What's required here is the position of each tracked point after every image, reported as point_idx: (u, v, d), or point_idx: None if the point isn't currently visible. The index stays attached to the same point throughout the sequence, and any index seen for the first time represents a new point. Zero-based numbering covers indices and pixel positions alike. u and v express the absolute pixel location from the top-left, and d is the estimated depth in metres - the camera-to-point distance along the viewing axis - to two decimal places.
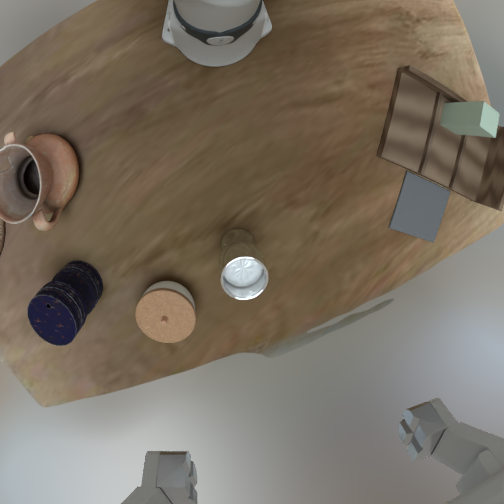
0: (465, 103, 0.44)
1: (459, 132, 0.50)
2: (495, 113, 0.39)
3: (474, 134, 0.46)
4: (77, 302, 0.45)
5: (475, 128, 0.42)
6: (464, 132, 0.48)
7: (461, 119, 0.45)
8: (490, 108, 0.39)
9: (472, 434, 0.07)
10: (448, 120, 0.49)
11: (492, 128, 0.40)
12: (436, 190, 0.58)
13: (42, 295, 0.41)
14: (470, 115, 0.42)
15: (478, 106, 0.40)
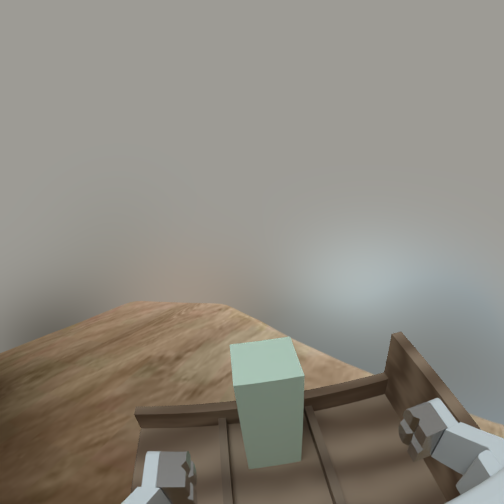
0: None
1: (288, 450, 0.24)
2: (277, 341, 0.25)
3: (294, 423, 0.23)
4: None
5: (253, 404, 0.21)
6: (286, 440, 0.24)
7: None
8: (255, 344, 0.25)
9: (472, 434, 0.07)
10: None
11: (281, 367, 0.22)
12: None
13: None
14: None
15: None
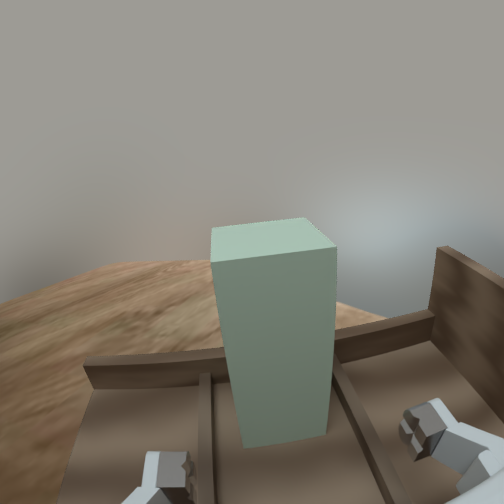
0: None
1: (308, 414, 0.16)
2: (285, 221, 0.17)
3: (319, 356, 0.14)
4: None
5: (248, 310, 0.13)
6: (305, 394, 0.15)
7: None
8: (252, 224, 0.17)
9: (472, 434, 0.07)
10: None
11: (295, 240, 0.14)
12: None
13: None
14: None
15: None
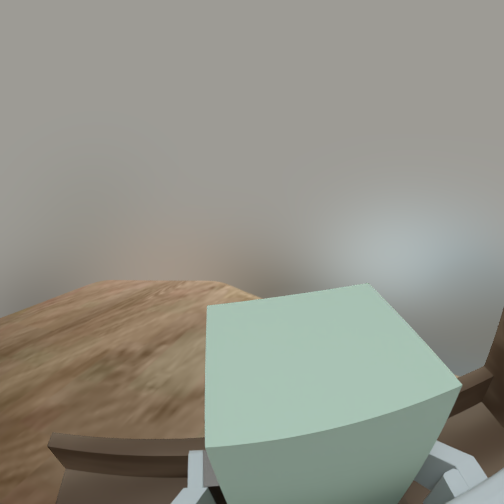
0: None
1: None
2: (339, 293, 0.09)
3: None
4: None
5: (281, 493, 0.05)
6: None
7: None
8: (281, 302, 0.09)
9: (439, 451, 0.07)
10: None
11: (380, 366, 0.06)
12: None
13: None
14: None
15: None
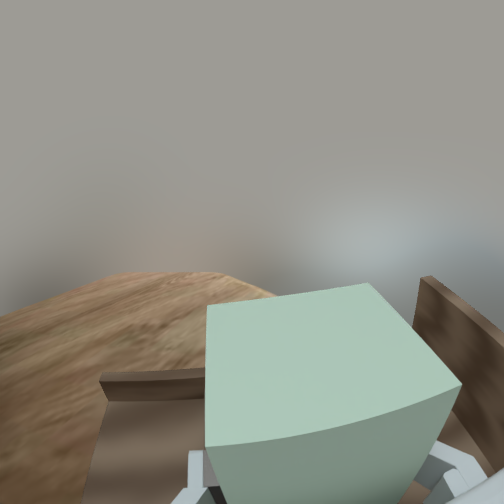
0: None
1: None
2: (339, 293, 0.09)
3: None
4: None
5: (281, 492, 0.05)
6: None
7: None
8: (281, 302, 0.09)
9: (439, 451, 0.07)
10: None
11: (380, 365, 0.06)
12: None
13: None
14: None
15: None
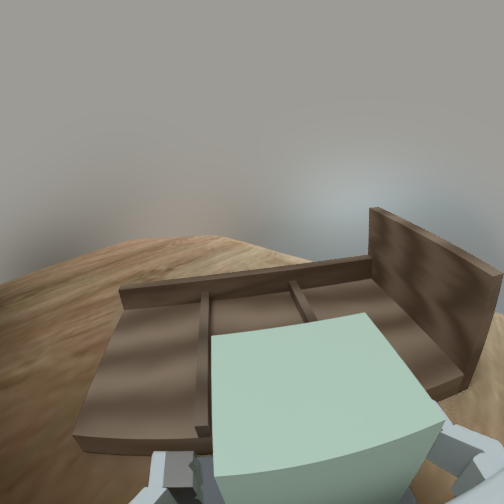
0: None
1: None
2: (336, 324, 0.09)
3: None
4: None
5: None
6: None
7: None
8: (281, 333, 0.09)
9: (467, 437, 0.07)
10: None
11: (371, 401, 0.06)
12: None
13: None
14: None
15: None
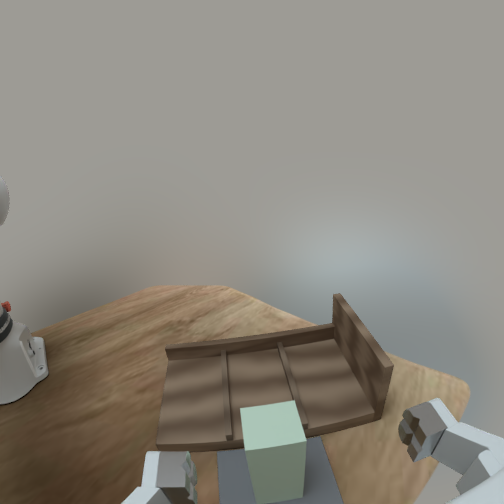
0: None
1: (292, 491, 0.25)
2: (282, 405, 0.26)
3: (297, 472, 0.24)
4: None
5: (262, 462, 0.23)
6: (290, 484, 0.25)
7: None
8: (263, 407, 0.26)
9: (472, 434, 0.07)
10: None
11: (286, 432, 0.23)
12: None
13: None
14: None
15: None
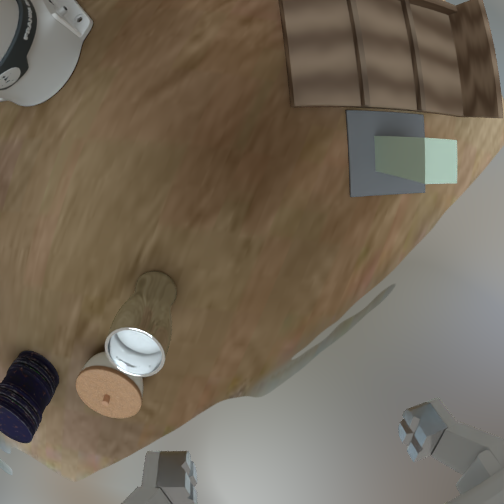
0: (400, 139, 0.33)
1: None
2: (450, 143, 0.28)
3: None
4: (21, 401, 0.35)
5: None
6: None
7: (399, 166, 0.34)
8: (439, 142, 0.28)
9: (472, 434, 0.07)
10: (384, 166, 0.38)
11: (448, 172, 0.30)
12: (401, 120, 0.39)
13: None
14: (409, 161, 0.32)
15: (418, 147, 0.30)
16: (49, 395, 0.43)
